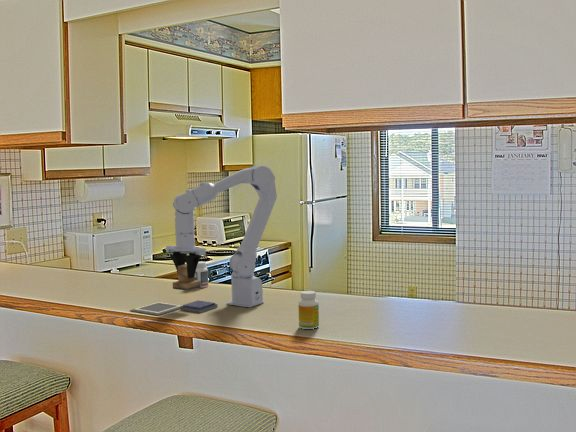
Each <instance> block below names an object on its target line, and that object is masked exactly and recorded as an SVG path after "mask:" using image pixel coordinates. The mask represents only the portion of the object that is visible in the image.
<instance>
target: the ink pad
mask: <svg viewBox="0 0 576 432" xmlns="http://www.w3.org/2000/svg"><path fill="white" fill-rule="evenodd" d="M181 306H182V307H181V309H180V311H184V310H185V311H184V312H190V311H191V312H192V313H199V314H202V313H205V312H208V311H211V310H213V309H217V308H218V303H216V302H210V301H206V300H199V299H198V300H195V301H191V302H188V303H185V304H183V305H181ZM191 312H190V313H191Z"/></svg>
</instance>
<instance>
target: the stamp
mask: <svg viewBox="0 0 576 432" xmlns="http://www.w3.org/2000/svg"><path fill="white" fill-rule="evenodd" d="M177 278H178V280H177V281H173V282H172V290H179V291H186V292H188V291H191V290H196V289H200V288H199V287H201V282H200V281H198V280H195V276H194V277H193V278H188V272H187V264H186V263H185V264H184V265H180V266H178V273H177Z"/></svg>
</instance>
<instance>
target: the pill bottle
mask: <svg viewBox="0 0 576 432" xmlns="http://www.w3.org/2000/svg"><path fill="white" fill-rule="evenodd" d="M206 266H207V263H206V262H205V261H203V260H202V261H200V260H199V262H198V265H197V268H196V272H195V280H198V281H200V282H201V287H199V288H198V289H202V288H207V287H208V286H209V270H208V268H207V267H206Z"/></svg>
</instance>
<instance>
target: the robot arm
mask: <svg viewBox="0 0 576 432" xmlns="http://www.w3.org/2000/svg"><path fill="white" fill-rule="evenodd" d="M240 184H249V185H251V186H252V187H253V188H254V189H255V192H256V194H257V195H258V200H257V203H256V206H255V207H254V208H255V209H254V210H253V213H252V215H251V219H250V221H249V223H248V226H247V227H246V228H247V229H246V231H245V234H244V236H243V239H242V242H241V243H240V245H239V246H238V247H237V249H236V252H235V253H234V254H232V256H231V257H230V259H229V267H230V268H231V270H232V273H231V275H230V278H231V279H230V280H231V281H230V282H231V301H227V302H226V305H229V306H230V305H231V306H237V307H243V308H253V307H255V306H257V305H260V304H264V303H265V300H264V298H263V297H264V296H263V291H264V290H263V282H262V279H261V278H260V277H257V276H255V273H254V272H255V270H256V260H257V257H258V256H257V255H258V254H257V252H258V251H257V250H258V246H259V244H260V241H261V239H262V237H263V233H265V229H266V226H267V224H268V221H269V219H270V216H271V213H272V211H273V208H274V206H275V203H276V201H277V197H278V194H277V188H276V176H275V174H274V173H273V171H272V169H271V168H270V167H268V166H266V165H260V166H259V165H252V166H251V167H246V168H243V169H241V170H238V171H236V172H234V173H233V174H230V175H228V176H226V177H224V178H223V179H220V180H219V181H217V182H215V183H212V182H208V181H207V182H204V181H202V182H199V185H198V186H196V187H194V188H192V189H186V190H185V192H186V193H179V194H177V195H176V196H175V198H174V199H173V202H172V207H173V208H174V210H175V213H174V216H175V218H174V228H175V229H174V230H175V232H174V233H175V245H167V246H166V247H165V249H166V250H165V253H172V254H170V255H169V256H170V259H171V260H172V263H173V265H174V267H175V269H176V273H177V274H178V266H180V265H184V264H187V272H188V278H193V277H194V276H195V272H196V268H197V265H198V262H200V260H201V258H202V257H203V256H206V255H207V251H206V250H207V249H206V247H205V248H204V247H199V246H196V242H195V241H196V239H195V237H196V235H195V219H194V210H195V208H199V207H201V206H203V205H205V204H208V203H209V202H212V201H213V200H216V199H217V196H218V195H219V193H222V192H223V191H226V190H228V189H230V188H233V187H236V186H238V185H240Z"/></svg>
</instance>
